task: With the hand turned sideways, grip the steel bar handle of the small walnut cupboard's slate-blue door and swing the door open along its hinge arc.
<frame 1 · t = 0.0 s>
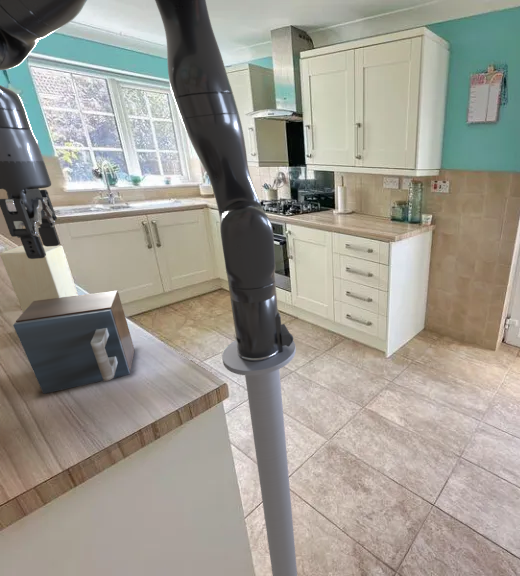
hand: (45, 251, 60), 25 cm above the counter, tool pointing down, fingers open, 8 cm apart
cream rectangular block: (63, 330, 81), on the counter
cupboard: (94, 368, 68), on the counter
door: (73, 358, 59), point 7 cm above the counter, hinge at 0.0°
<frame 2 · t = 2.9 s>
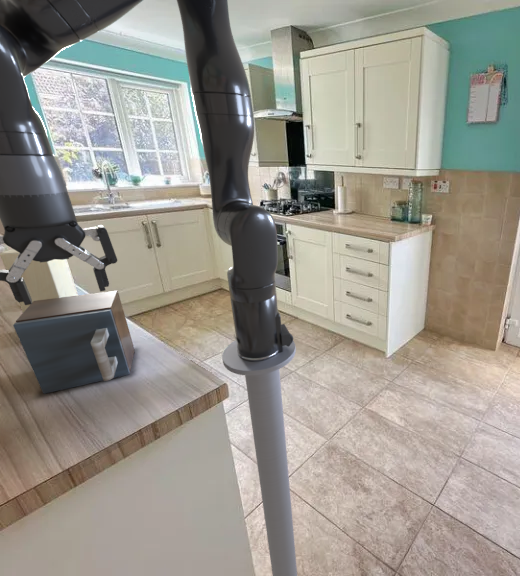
hand: (67, 295, 51), 22 cm above the counter, tool pointing down, fingers open, 8 cm apart
nothing on the counter moved.
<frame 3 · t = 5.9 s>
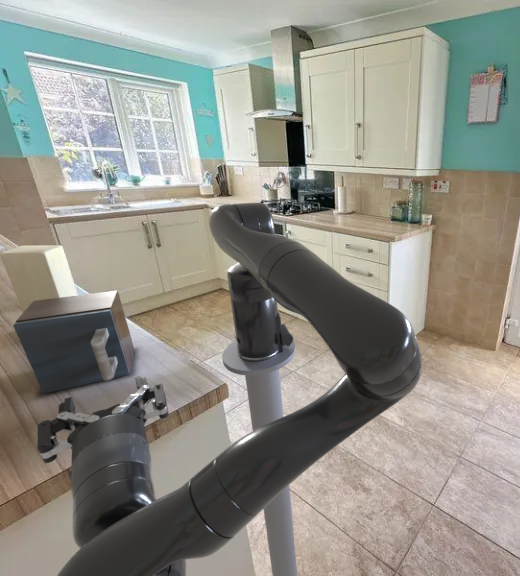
hand: (106, 390, 52), 8 cm above the counter, tool horizontal, fingers open, 8 cm apart
nothing on the counter moved.
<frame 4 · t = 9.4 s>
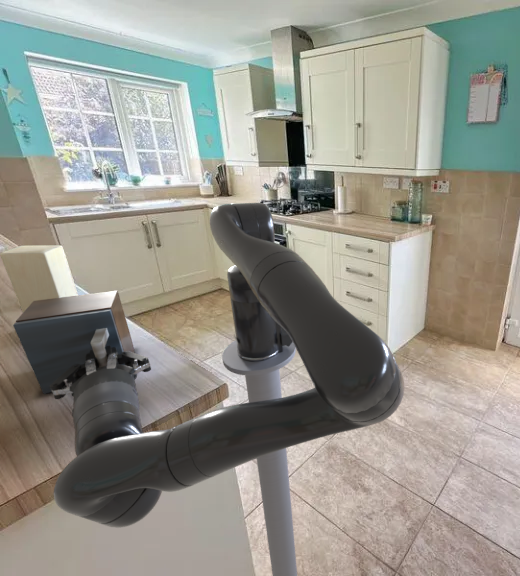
hand: (102, 352, 61), 8 cm above the counter, tool horizontal, fingers closed on door
door: (73, 358, 59), point 7 cm above the counter, hinge at 0.0°, touching gripper
everything else where it was.
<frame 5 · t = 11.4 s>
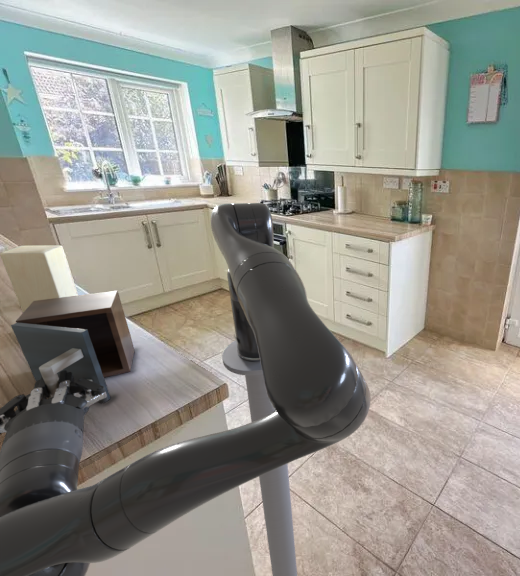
hand: (56, 377, 54), 8 cm above the counter, tool horizontal, fingers closed on door
door: (45, 373, 55), point 7 cm above the counter, hinge at 35.9°, touching gripper
everything else where it was.
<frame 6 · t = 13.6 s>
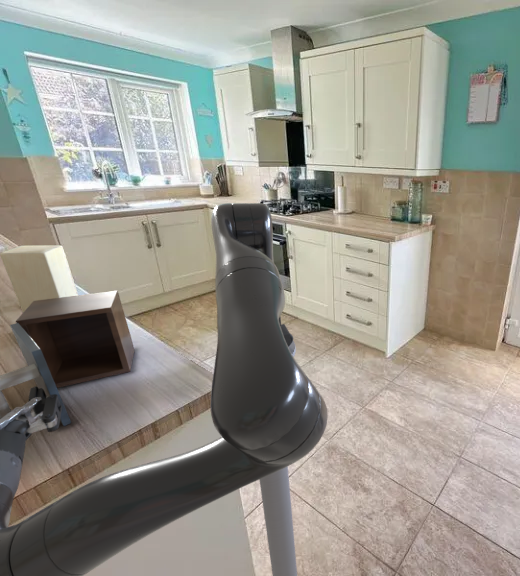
door: (15, 382, 53), point 8 cm above the counter, hinge at 64.2°, touching gripper
everything else where it was.
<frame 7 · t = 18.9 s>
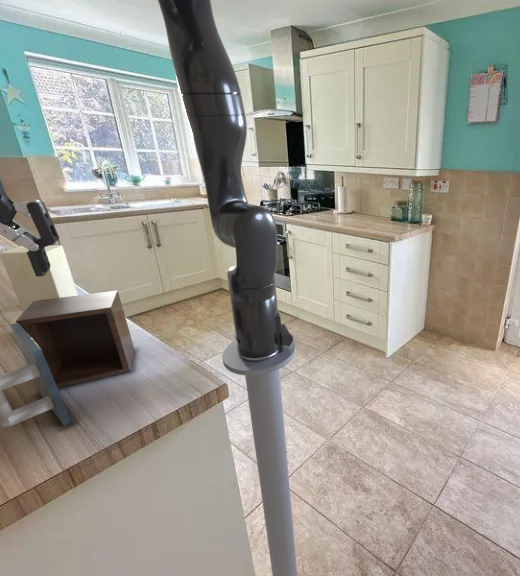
hand: (0, 279, 45), 26 cm above the counter, tool pointing down, fingers open, 8 cm apart
door: (16, 382, 53), point 7 cm above the counter, hinge at 64.0°
everything else where it was.
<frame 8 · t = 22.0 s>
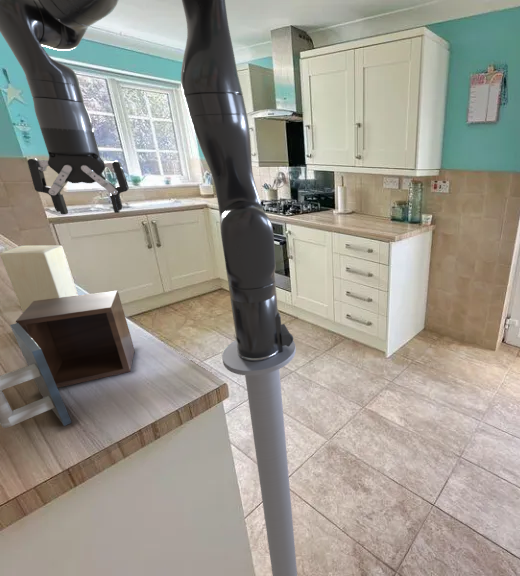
hand: (92, 213, 68), 30 cm above the counter, tool pointing down, fingers open, 8 cm apart
nothing on the counter moved.
at the end: door at +64° (first picture: +0°); cream rectangular block moved 0.2 cm from its start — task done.
